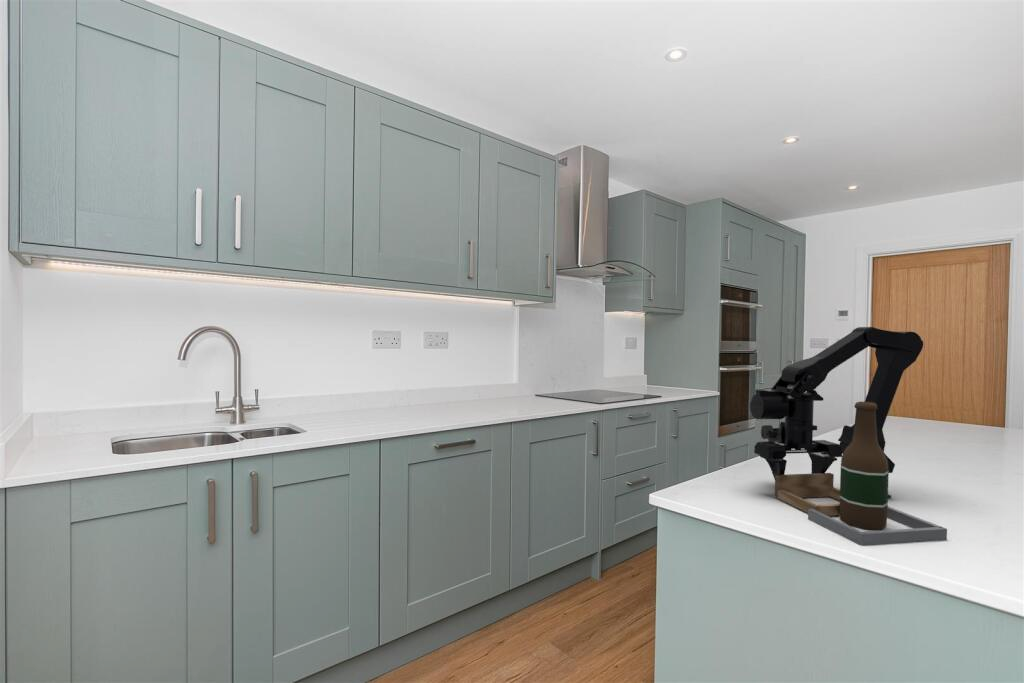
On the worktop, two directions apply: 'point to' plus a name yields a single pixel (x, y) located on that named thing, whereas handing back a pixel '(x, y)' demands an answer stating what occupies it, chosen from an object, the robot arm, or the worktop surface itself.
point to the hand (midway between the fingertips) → (796, 485)
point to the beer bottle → (864, 474)
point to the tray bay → (918, 533)
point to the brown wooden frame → (807, 491)
